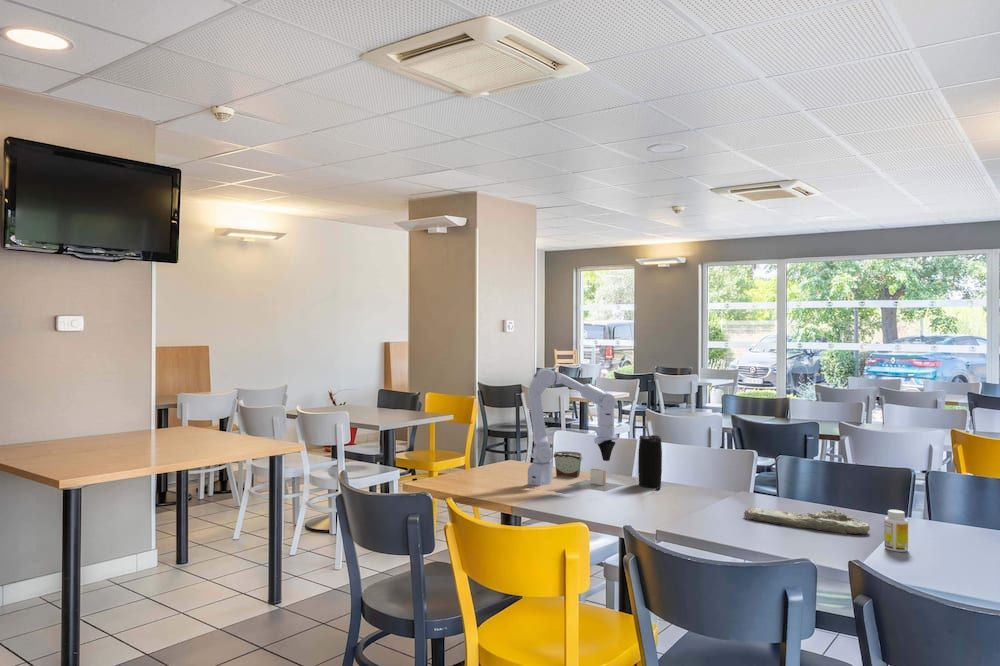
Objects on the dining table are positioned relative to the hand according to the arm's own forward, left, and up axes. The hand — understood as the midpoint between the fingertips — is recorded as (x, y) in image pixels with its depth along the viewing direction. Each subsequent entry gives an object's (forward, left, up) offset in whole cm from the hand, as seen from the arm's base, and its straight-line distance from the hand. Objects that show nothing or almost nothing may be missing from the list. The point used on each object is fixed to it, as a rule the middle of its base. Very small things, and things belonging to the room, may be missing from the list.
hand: (606, 460), depth 271 cm
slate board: (-8, 0, -9) cm, 12 cm away
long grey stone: (-13, -75, -10) cm, 77 cm away
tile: (-6, 0, -8) cm, 10 cm away
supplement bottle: (-24, -101, -10) cm, 104 cm away
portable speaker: (+4, -16, -10) cm, 19 cm away
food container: (+3, +18, -10) cm, 21 cm away
